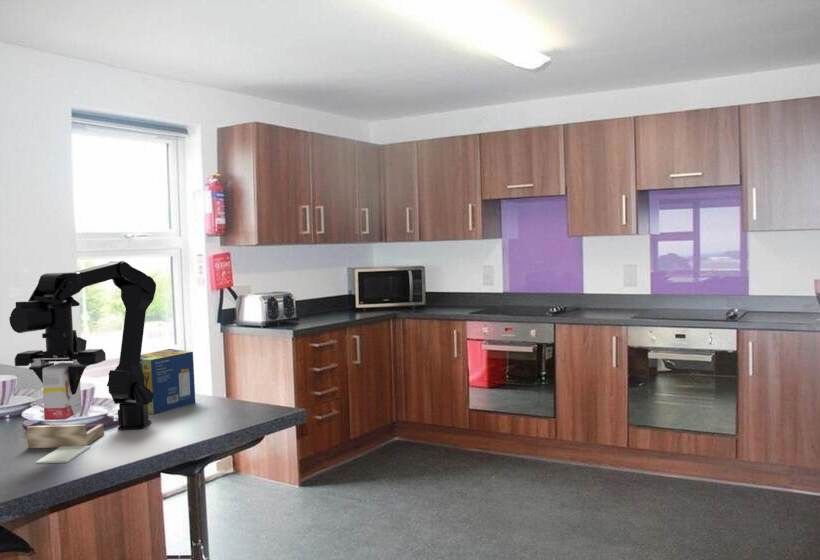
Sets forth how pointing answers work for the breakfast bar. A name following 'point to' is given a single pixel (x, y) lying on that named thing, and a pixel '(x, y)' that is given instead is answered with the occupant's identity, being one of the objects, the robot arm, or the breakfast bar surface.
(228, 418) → the breakfast bar surface
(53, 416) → the ink box
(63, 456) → the coaster pad
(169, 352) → the protein box
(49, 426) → the shelf bay
